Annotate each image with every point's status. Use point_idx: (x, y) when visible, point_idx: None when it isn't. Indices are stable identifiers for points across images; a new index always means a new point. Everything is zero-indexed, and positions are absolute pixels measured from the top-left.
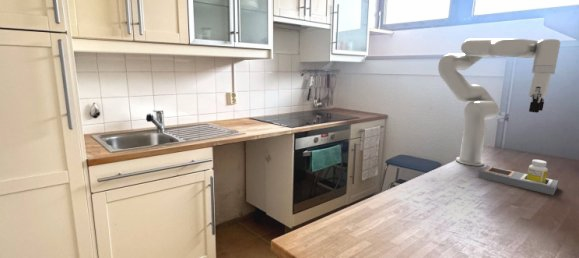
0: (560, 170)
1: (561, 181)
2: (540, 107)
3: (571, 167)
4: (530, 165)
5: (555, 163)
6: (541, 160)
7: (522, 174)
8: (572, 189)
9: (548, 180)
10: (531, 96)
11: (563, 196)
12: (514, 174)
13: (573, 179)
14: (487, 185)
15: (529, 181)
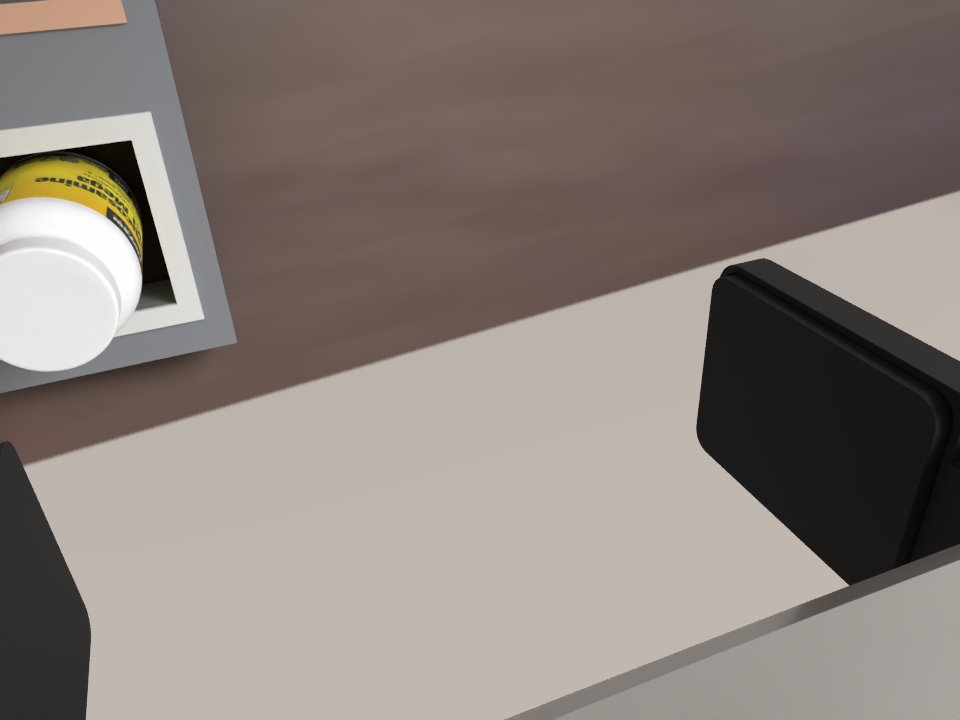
0: (742, 187)
1: (440, 281)
2: (753, 452)
3: (870, 207)
4: (7, 222)
5: (918, 106)
6: (107, 311)
7: (113, 101)
8: (297, 380)
9: (175, 295)
10: (835, 595)
11: (38, 410)
12: (15, 46)
13: (565, 306)
14: None
15: None
